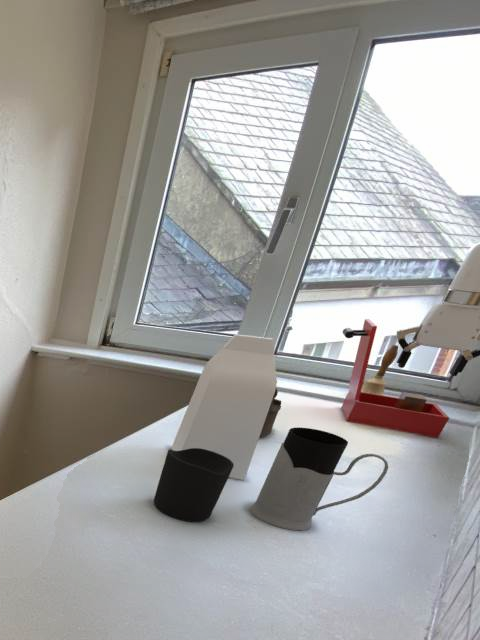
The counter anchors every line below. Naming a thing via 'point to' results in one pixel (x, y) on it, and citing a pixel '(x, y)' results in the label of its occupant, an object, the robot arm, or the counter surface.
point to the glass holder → (303, 478)
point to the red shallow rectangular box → (394, 415)
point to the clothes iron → (271, 416)
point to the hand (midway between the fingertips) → (426, 370)
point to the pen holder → (191, 483)
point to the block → (410, 402)
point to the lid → (361, 355)
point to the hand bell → (380, 373)
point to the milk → (231, 402)
